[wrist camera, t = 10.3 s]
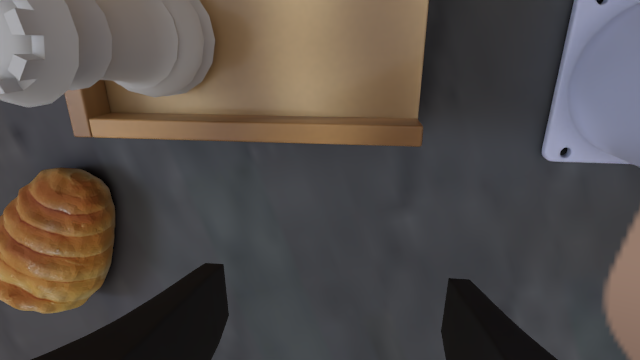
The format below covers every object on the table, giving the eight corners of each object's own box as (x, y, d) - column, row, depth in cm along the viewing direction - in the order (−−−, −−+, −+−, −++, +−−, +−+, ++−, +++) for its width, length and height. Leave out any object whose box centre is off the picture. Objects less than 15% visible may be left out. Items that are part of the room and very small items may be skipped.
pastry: (41, 139, 22) (-21, 158, 19) (144, 192, 23) (104, 220, 19) (13, 254, 25) (-44, 289, 22) (104, 298, 26) (63, 339, 22)
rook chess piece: (122, 92, 16) (-93, 135, 8) (104, -26, 14) (-180, -102, 7) (223, 97, 15) (92, 147, 8) (216, -24, 14) (45, -102, 6)
